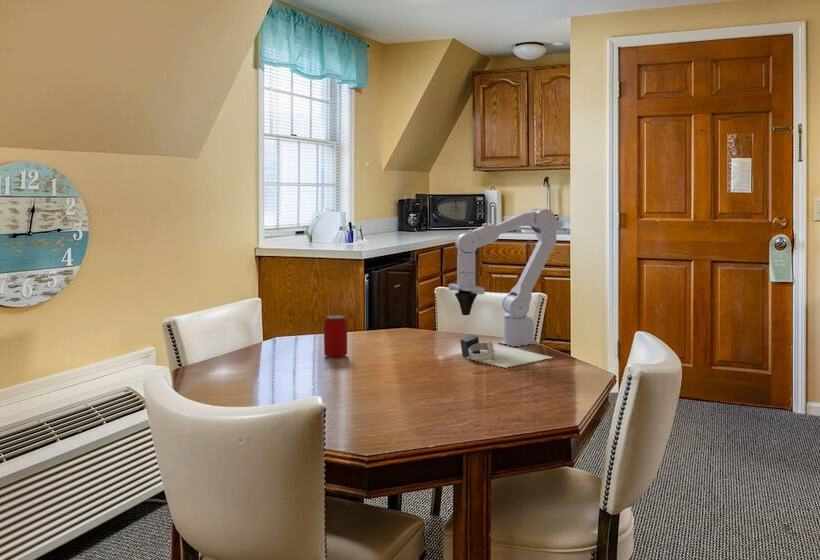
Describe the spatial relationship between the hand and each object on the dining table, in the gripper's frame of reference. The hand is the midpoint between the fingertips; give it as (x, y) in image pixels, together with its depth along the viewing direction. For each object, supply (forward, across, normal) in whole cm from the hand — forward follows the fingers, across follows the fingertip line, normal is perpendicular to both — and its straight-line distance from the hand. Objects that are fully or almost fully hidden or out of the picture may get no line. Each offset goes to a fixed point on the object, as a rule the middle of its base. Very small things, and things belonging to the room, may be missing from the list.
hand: (466, 314), depth 232 cm
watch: (+7, +11, -10) cm, 16 cm away
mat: (+10, +22, -3) cm, 24 cm away
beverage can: (+10, -12, -41) cm, 44 cm away
